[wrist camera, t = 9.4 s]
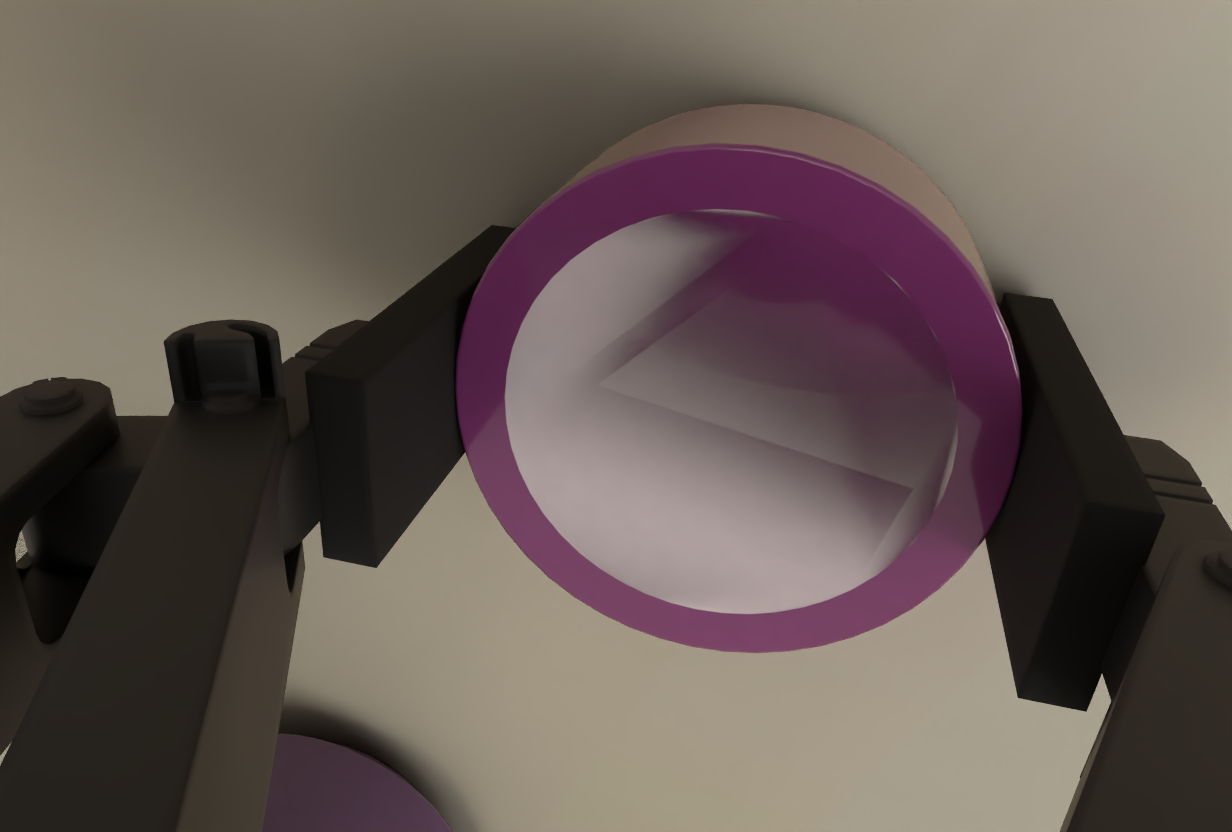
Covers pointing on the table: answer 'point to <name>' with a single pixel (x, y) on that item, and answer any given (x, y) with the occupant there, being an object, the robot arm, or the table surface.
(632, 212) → the dish
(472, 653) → the table surface
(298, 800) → the dish middle
